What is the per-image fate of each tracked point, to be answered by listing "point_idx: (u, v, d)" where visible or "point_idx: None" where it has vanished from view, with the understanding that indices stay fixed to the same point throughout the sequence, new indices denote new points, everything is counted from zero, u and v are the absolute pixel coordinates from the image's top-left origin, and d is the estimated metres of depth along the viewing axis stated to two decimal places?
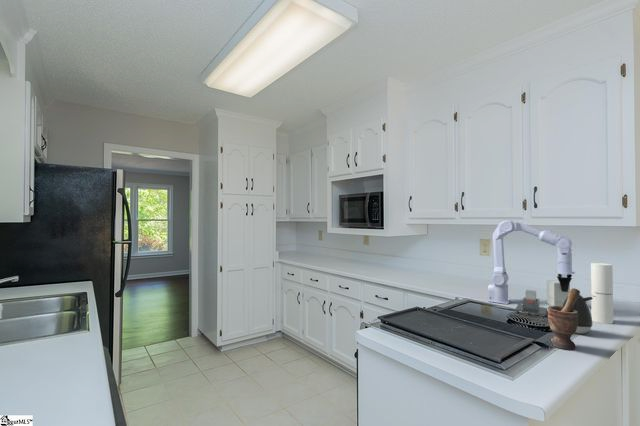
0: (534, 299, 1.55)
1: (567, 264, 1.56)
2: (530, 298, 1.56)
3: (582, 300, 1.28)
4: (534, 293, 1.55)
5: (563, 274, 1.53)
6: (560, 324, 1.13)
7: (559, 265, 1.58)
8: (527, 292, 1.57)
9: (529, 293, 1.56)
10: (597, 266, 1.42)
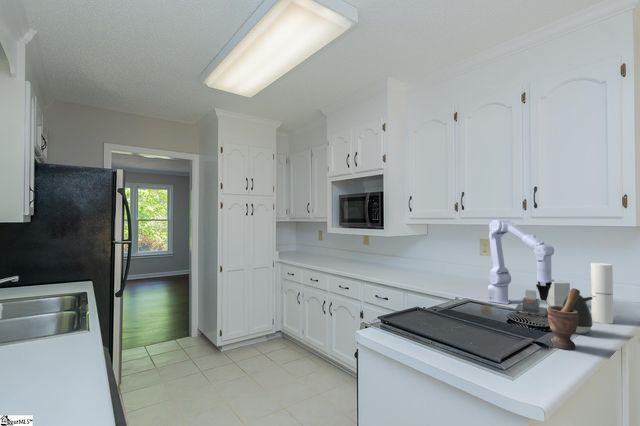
0: (534, 299, 1.55)
1: (546, 272, 1.52)
2: (530, 298, 1.56)
3: (582, 300, 1.28)
4: (534, 293, 1.55)
5: (542, 282, 1.49)
6: (560, 324, 1.13)
7: (538, 273, 1.54)
8: (527, 292, 1.57)
9: (529, 293, 1.56)
10: (597, 266, 1.42)
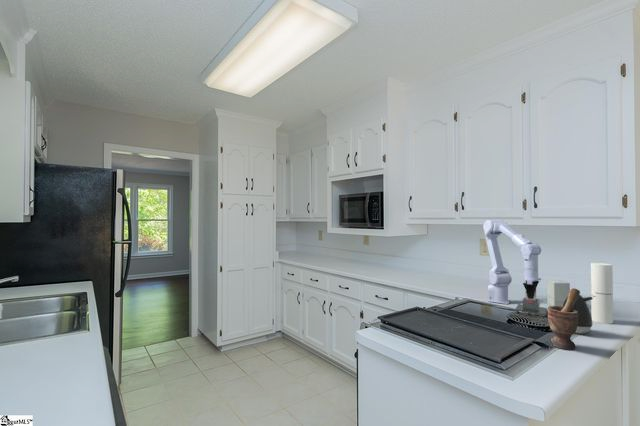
0: (534, 299, 1.55)
1: (533, 271, 1.55)
2: None
3: (582, 300, 1.28)
4: (534, 293, 1.55)
5: (528, 281, 1.52)
6: (560, 324, 1.13)
7: (525, 271, 1.57)
8: None
9: None
10: (597, 266, 1.42)
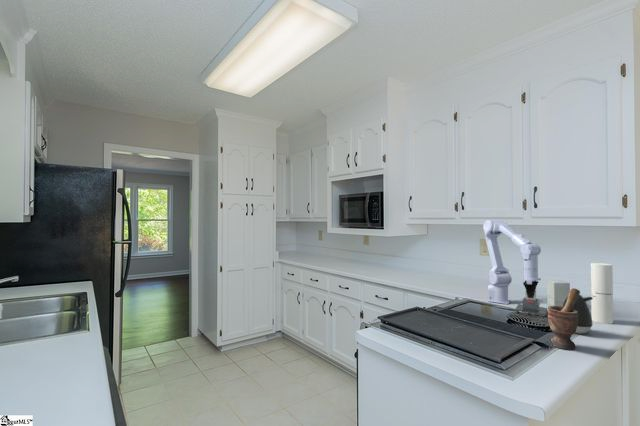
0: (534, 299, 1.55)
1: (533, 270, 1.55)
2: (530, 298, 1.56)
3: (582, 300, 1.28)
4: (534, 293, 1.55)
5: (528, 281, 1.52)
6: (560, 324, 1.13)
7: (525, 271, 1.57)
8: None
9: None
10: (597, 266, 1.42)
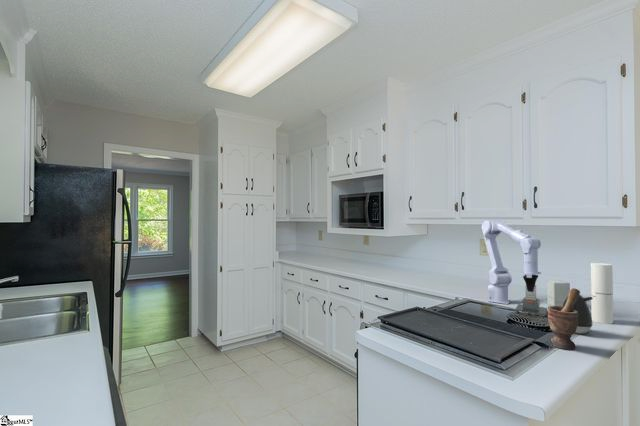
0: (534, 293, 1.55)
1: (533, 264, 1.55)
2: (530, 292, 1.56)
3: (582, 300, 1.28)
4: (534, 287, 1.55)
5: (528, 274, 1.52)
6: (560, 324, 1.13)
7: (525, 265, 1.57)
8: None
9: None
10: (597, 266, 1.42)
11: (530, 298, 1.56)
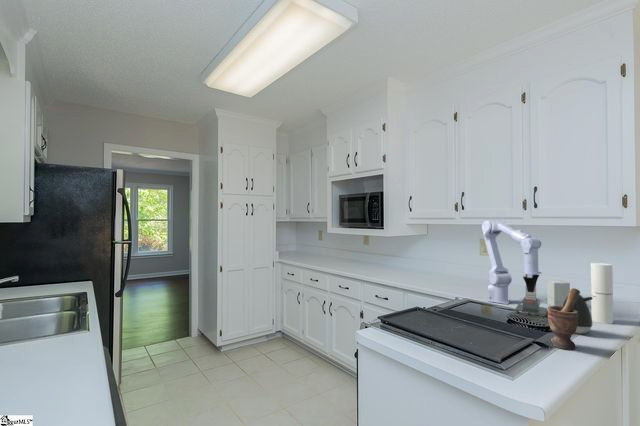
0: (534, 293, 1.55)
1: (533, 264, 1.55)
2: (530, 292, 1.56)
3: (582, 300, 1.28)
4: (534, 287, 1.55)
5: (528, 274, 1.52)
6: (560, 324, 1.13)
7: (526, 265, 1.57)
8: None
9: None
10: (597, 266, 1.42)
11: (530, 298, 1.56)
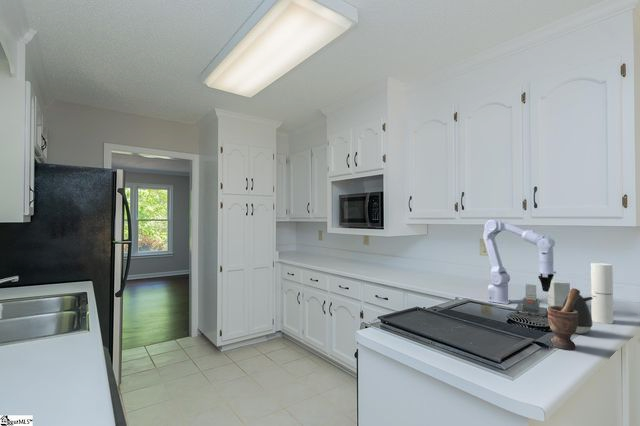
0: (534, 293, 1.55)
1: (548, 264, 1.57)
2: (530, 292, 1.56)
3: (582, 300, 1.28)
4: (534, 287, 1.55)
5: (544, 274, 1.54)
6: (560, 324, 1.13)
7: (541, 265, 1.59)
8: (527, 286, 1.57)
9: (529, 287, 1.56)
10: (597, 266, 1.42)
11: (530, 298, 1.56)
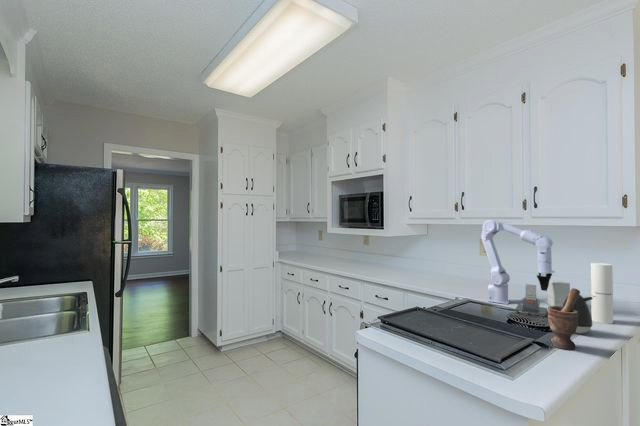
0: (534, 293, 1.55)
1: (547, 263, 1.58)
2: (530, 292, 1.56)
3: (582, 300, 1.28)
4: (534, 287, 1.55)
5: (542, 273, 1.55)
6: (560, 324, 1.13)
7: (539, 264, 1.60)
8: (527, 286, 1.57)
9: (529, 287, 1.56)
10: (597, 266, 1.42)
11: (530, 298, 1.56)
